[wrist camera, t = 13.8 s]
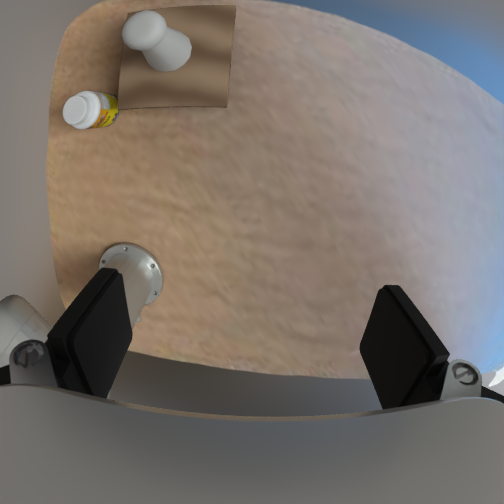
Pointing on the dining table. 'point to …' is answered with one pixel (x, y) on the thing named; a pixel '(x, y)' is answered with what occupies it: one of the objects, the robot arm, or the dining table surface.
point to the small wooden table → (192, 72)
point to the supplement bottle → (91, 110)
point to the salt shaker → (156, 41)
